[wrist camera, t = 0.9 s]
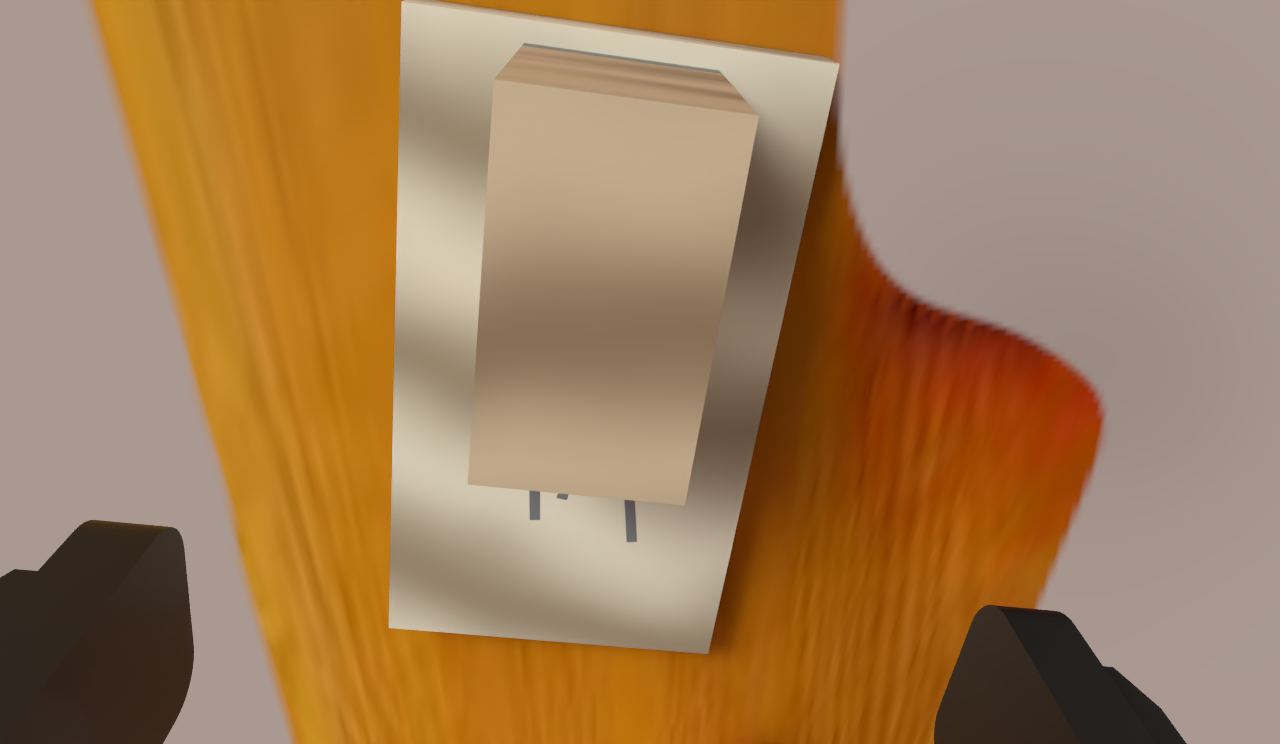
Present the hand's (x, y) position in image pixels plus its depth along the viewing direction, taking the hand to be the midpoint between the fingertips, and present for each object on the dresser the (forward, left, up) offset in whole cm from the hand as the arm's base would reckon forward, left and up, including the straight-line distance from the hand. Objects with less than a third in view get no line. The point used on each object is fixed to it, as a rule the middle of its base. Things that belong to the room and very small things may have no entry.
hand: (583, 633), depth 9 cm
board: (+4, 0, -16) cm, 17 cm away
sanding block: (0, 0, -14) cm, 14 cm away
